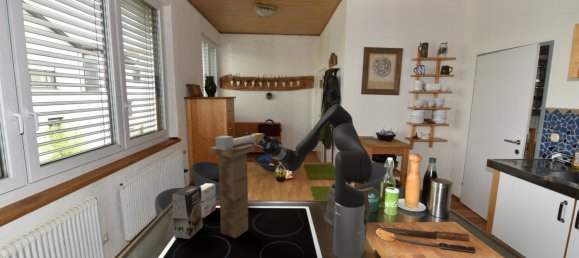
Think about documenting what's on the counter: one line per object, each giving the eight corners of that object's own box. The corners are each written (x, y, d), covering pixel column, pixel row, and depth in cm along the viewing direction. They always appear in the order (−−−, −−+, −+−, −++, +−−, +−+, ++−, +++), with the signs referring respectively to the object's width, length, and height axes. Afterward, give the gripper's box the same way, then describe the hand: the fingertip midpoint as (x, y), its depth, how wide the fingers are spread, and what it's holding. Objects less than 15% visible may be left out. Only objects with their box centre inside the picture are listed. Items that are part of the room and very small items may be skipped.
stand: (255, 227, 101) (254, 145, 96) (233, 243, 91) (231, 151, 86) (235, 221, 106) (233, 142, 101) (212, 234, 96) (209, 147, 91)
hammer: (256, 139, 108) (256, 129, 108) (264, 140, 106) (264, 130, 106) (216, 148, 90) (215, 137, 89) (224, 150, 88) (224, 138, 87)
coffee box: (190, 239, 93) (188, 195, 90) (173, 237, 94) (171, 193, 92) (203, 226, 101) (201, 186, 99) (188, 224, 103) (186, 184, 101)
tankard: (322, 225, 103) (323, 188, 101) (327, 211, 115) (328, 178, 113) (376, 233, 98) (378, 194, 96) (376, 218, 110) (378, 183, 107)
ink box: (207, 207, 118) (206, 182, 116) (216, 209, 116) (215, 183, 115) (194, 216, 110) (192, 188, 108) (204, 218, 108) (202, 190, 107)
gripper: (264, 139, 122) (243, 125, 109) (290, 143, 115) (272, 128, 102) (259, 155, 120) (237, 142, 107) (286, 159, 112) (266, 146, 99)
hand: (254, 135), depth 104 cm, fingers open, 8 cm apart
